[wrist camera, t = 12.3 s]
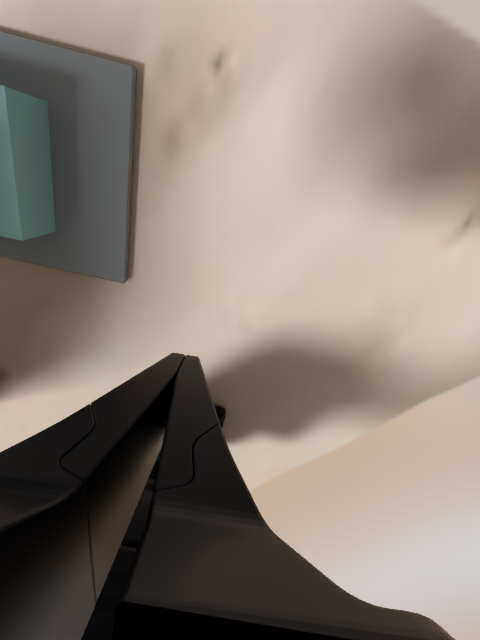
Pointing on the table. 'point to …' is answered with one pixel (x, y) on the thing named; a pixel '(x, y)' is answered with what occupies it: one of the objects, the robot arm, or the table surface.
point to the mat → (79, 154)
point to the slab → (25, 167)
